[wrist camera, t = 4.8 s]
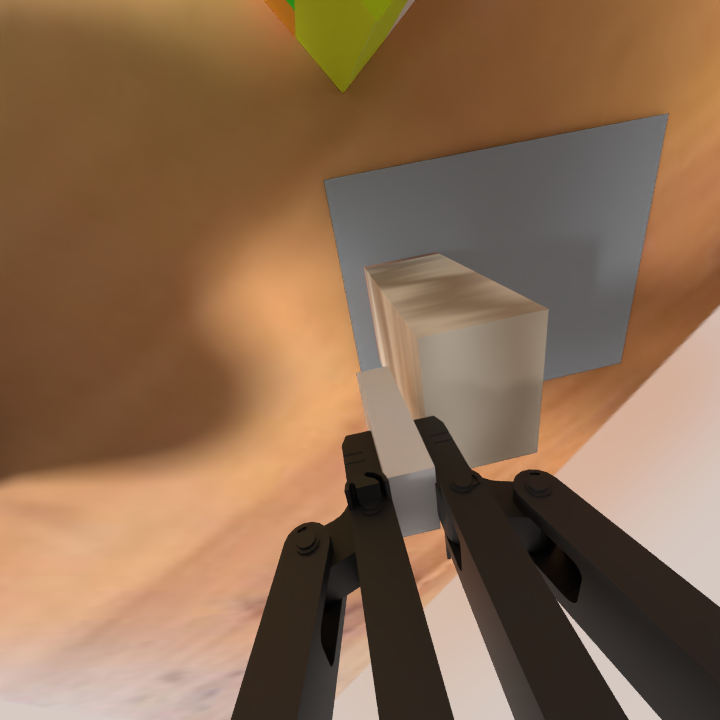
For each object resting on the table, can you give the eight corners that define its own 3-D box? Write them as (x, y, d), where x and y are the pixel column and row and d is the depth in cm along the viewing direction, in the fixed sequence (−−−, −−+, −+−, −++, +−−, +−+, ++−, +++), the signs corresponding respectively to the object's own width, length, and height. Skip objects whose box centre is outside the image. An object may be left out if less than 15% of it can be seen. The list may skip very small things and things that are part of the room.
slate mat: (370, 418, 30) (371, 421, 29) (323, 180, 22) (324, 179, 21) (616, 360, 31) (620, 363, 31) (663, 114, 23) (668, 113, 22)
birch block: (379, 358, 27) (432, 477, 16) (363, 266, 24) (417, 337, 13) (442, 344, 27) (537, 452, 16) (436, 251, 24) (548, 309, 13)
